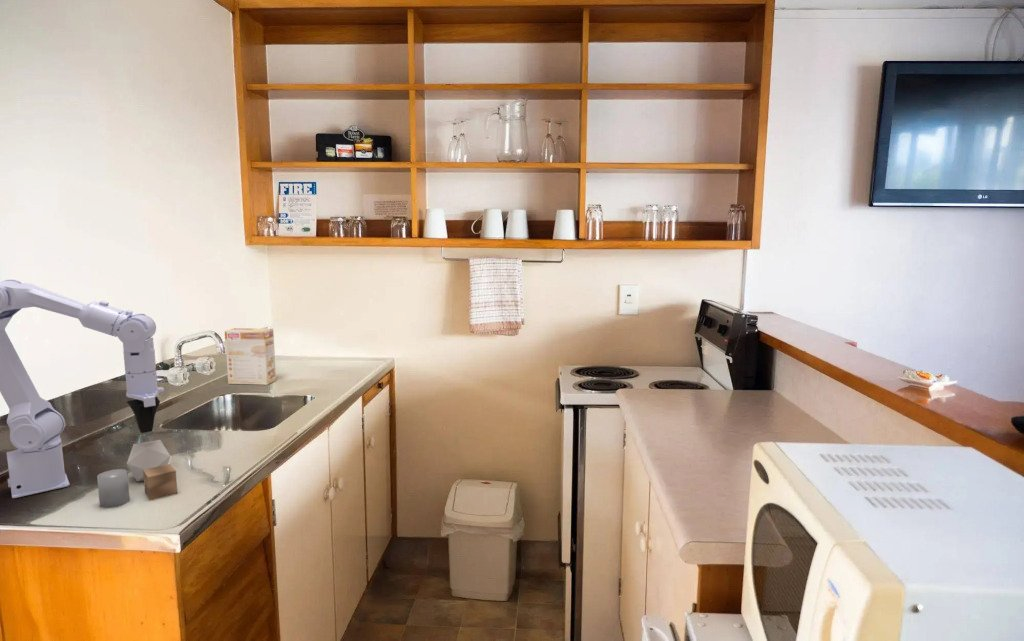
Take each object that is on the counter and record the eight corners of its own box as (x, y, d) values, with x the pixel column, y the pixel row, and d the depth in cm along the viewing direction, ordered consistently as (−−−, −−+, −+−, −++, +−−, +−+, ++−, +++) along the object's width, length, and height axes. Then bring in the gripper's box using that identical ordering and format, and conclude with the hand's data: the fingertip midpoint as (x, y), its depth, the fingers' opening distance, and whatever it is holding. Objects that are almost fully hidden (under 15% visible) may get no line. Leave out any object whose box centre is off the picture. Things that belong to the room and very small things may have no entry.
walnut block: (149, 500, 122) (147, 477, 121) (145, 492, 126) (142, 469, 125) (177, 493, 125) (175, 470, 124) (171, 486, 129) (170, 463, 128)
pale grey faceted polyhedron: (173, 469, 140) (144, 438, 138) (185, 459, 134) (156, 426, 133) (141, 493, 133) (110, 461, 132) (153, 484, 128) (121, 450, 127)
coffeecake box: (276, 380, 222) (274, 328, 219) (267, 385, 214) (264, 331, 212) (238, 379, 223) (234, 327, 220) (227, 384, 216) (223, 330, 213)
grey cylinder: (101, 510, 117) (99, 481, 117) (98, 501, 121) (95, 473, 120) (131, 502, 121) (129, 474, 120) (127, 494, 124) (124, 467, 124)
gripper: (169, 374, 127) (174, 435, 129) (154, 363, 138) (159, 420, 140) (130, 379, 123) (136, 443, 125) (118, 367, 134) (124, 426, 136)
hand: (146, 431), depth 132 cm, fingers closed
